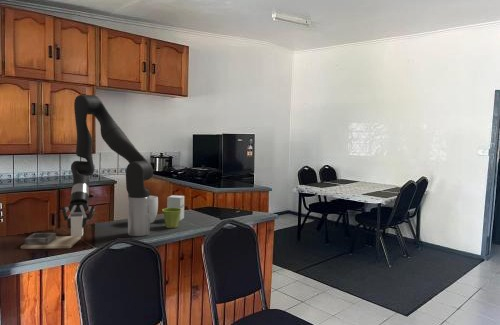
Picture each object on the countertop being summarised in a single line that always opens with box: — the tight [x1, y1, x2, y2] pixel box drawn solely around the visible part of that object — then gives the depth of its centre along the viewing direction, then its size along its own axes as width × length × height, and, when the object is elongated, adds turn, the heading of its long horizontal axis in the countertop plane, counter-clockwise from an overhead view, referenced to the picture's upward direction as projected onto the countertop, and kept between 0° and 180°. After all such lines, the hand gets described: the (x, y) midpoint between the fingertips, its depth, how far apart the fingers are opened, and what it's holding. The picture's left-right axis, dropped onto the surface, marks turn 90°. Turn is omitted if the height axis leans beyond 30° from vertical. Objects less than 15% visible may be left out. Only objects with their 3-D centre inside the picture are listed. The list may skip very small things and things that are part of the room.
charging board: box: [20, 232, 82, 250], centre depth 154 cm, size 18×14×4 cm
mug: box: [149, 195, 159, 224], centre depth 193 cm, size 15×11×13 cm
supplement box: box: [166, 194, 185, 222], centre depth 203 cm, size 7×7×13 cm
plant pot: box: [161, 207, 182, 229], centre depth 187 cm, size 9×9×9 cm
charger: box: [70, 212, 84, 238], centre depth 167 cm, size 4×4×10 cm
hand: (76, 227), depth 165 cm, fingers open, 5 cm apart
